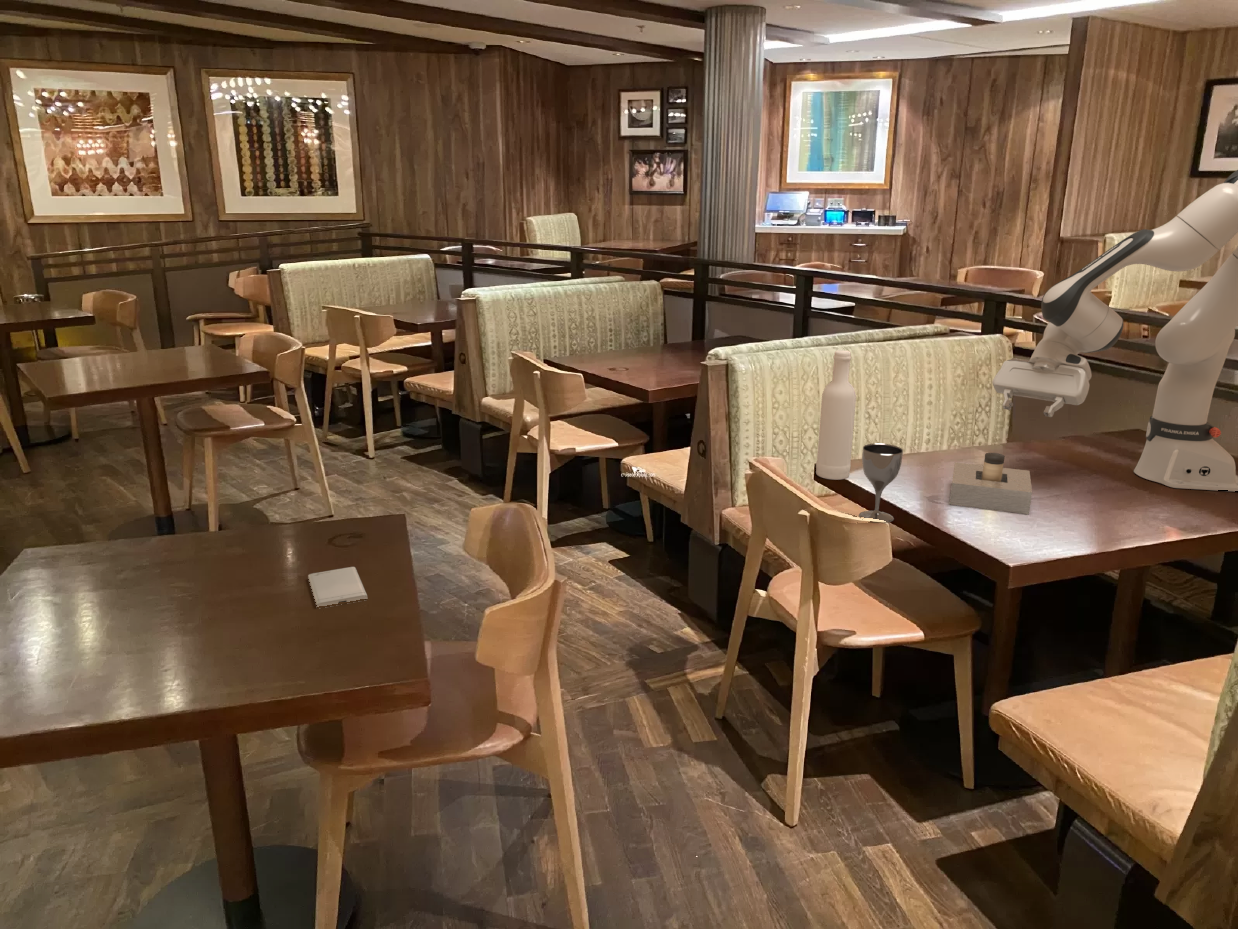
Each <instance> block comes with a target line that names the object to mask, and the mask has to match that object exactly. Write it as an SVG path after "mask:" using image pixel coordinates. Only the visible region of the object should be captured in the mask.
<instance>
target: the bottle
mask: <svg viewBox="0 0 1238 929" xmlns="http://www.w3.org/2000/svg"><path fill="white" fill-rule="evenodd" d="M851 353H852V352H851V351H850V350H846V349H844V350H843V349H837V350H835V351H834V355H833V368H832V370H833V371H832V380H831V381H830V382H829V383H828V384H826V385H825V386H824V389H823V391H822V395H821V403H820V405H821V406H820V417H819V429H818V430H819V431H818V440H817V442H818V444H817V456H816V462H815V463H816V464H815V468H816V469H815V470H816V471H815V473H816V475H817V476H818V477H820V478H823V479H826V480H833V481H834V480H835V481H836V480H838V481H839V480H846V479H848V478H849V476H850V472H851V464H852V463H851V461H852V460H851V459H852V448H853V438H854V425H855V417H856V416H855V415H856V403H857V394H856V389H855V388H854V386H853V385H852V384H851V382H850V381H849V376H850V365H851V359H852V357H851V355H852V354H851Z"/></svg>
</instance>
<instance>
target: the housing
mask: <svg viewBox="0 0 1238 929" xmlns="http://www.w3.org/2000/svg"><path fill="white" fill-rule="evenodd" d="M953 464H954V466H953V473H952V478H951V479H952V480H951V487H950V488H951V490H950V494H949V495H950V496H949V503H948V504H951V505H950V506H957V505H958V506H960V507H965V508H973V507H975V509H982V510H990V511H998V512H999V511H1000V512H1006V513H1015V514H1019V515H1020V514H1021V515H1029V514H1030V509H1031V504H1032V503H1031V501H1032V497H1033V496H1032V495H1033V489H1032V480H1031V473H1030V472H1031V471H1030V470H1027V469H1019V468H1016V469H1015V468H1010V467H1003V471H1002V478H1001V482H996V481H987V480H982V474H983V466H984V464H983V465H982V464H971V463H962V462H954V463H953Z"/></svg>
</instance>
